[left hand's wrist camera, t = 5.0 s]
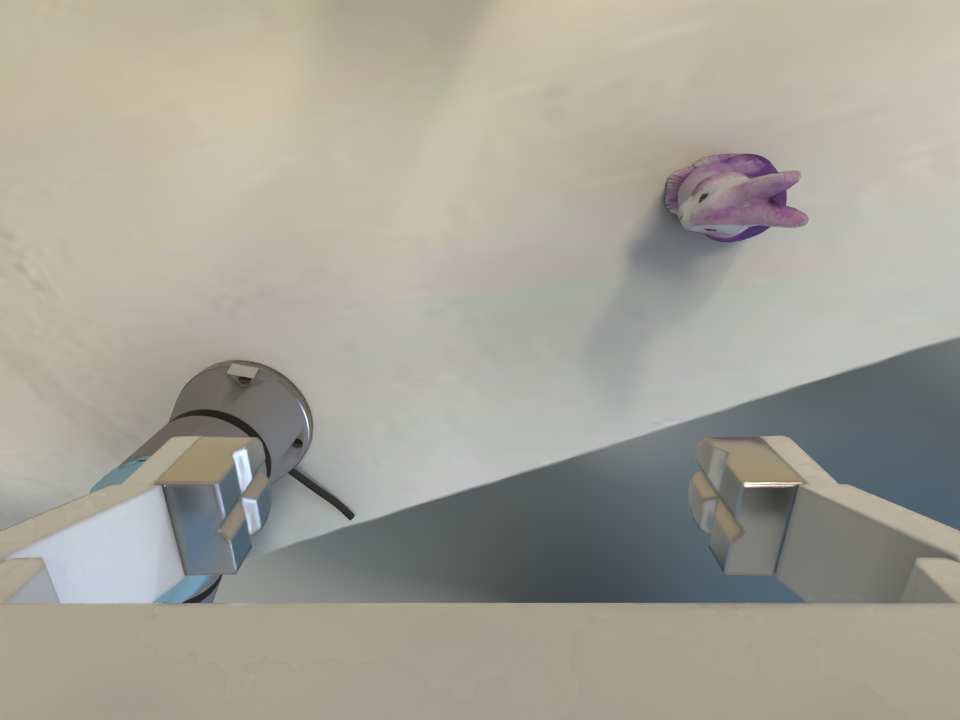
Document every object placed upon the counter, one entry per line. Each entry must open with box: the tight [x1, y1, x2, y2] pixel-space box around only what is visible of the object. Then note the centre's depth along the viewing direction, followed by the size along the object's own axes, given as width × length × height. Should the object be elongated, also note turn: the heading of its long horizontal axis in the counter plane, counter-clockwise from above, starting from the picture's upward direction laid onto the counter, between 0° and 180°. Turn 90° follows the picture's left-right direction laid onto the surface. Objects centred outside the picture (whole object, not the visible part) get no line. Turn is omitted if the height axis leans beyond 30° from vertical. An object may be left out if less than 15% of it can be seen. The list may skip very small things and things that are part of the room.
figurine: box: [665, 154, 808, 242], centre depth 47 cm, size 9×10×15 cm
